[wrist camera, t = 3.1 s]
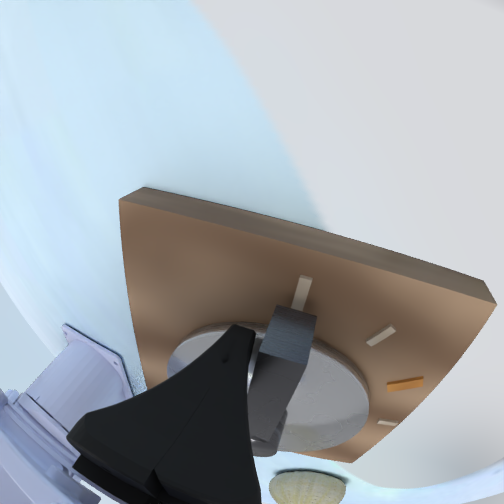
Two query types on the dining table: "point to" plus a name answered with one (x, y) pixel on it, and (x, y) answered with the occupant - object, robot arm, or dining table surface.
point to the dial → (290, 384)
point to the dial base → (297, 297)
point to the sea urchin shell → (306, 488)
